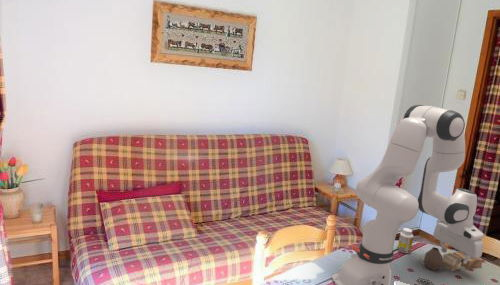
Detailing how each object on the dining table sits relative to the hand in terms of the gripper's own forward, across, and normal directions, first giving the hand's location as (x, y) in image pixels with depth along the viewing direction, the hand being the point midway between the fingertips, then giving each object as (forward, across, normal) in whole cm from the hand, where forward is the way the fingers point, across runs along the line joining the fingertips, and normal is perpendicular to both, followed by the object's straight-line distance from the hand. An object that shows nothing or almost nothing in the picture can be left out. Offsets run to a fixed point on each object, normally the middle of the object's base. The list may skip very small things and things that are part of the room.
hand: (453, 257), depth 158 cm
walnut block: (+5, 0, +9) cm, 11 cm away
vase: (+4, -2, -10) cm, 11 cm away
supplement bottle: (+4, -17, -10) cm, 20 cm away
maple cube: (+5, 0, -1) cm, 5 cm away
